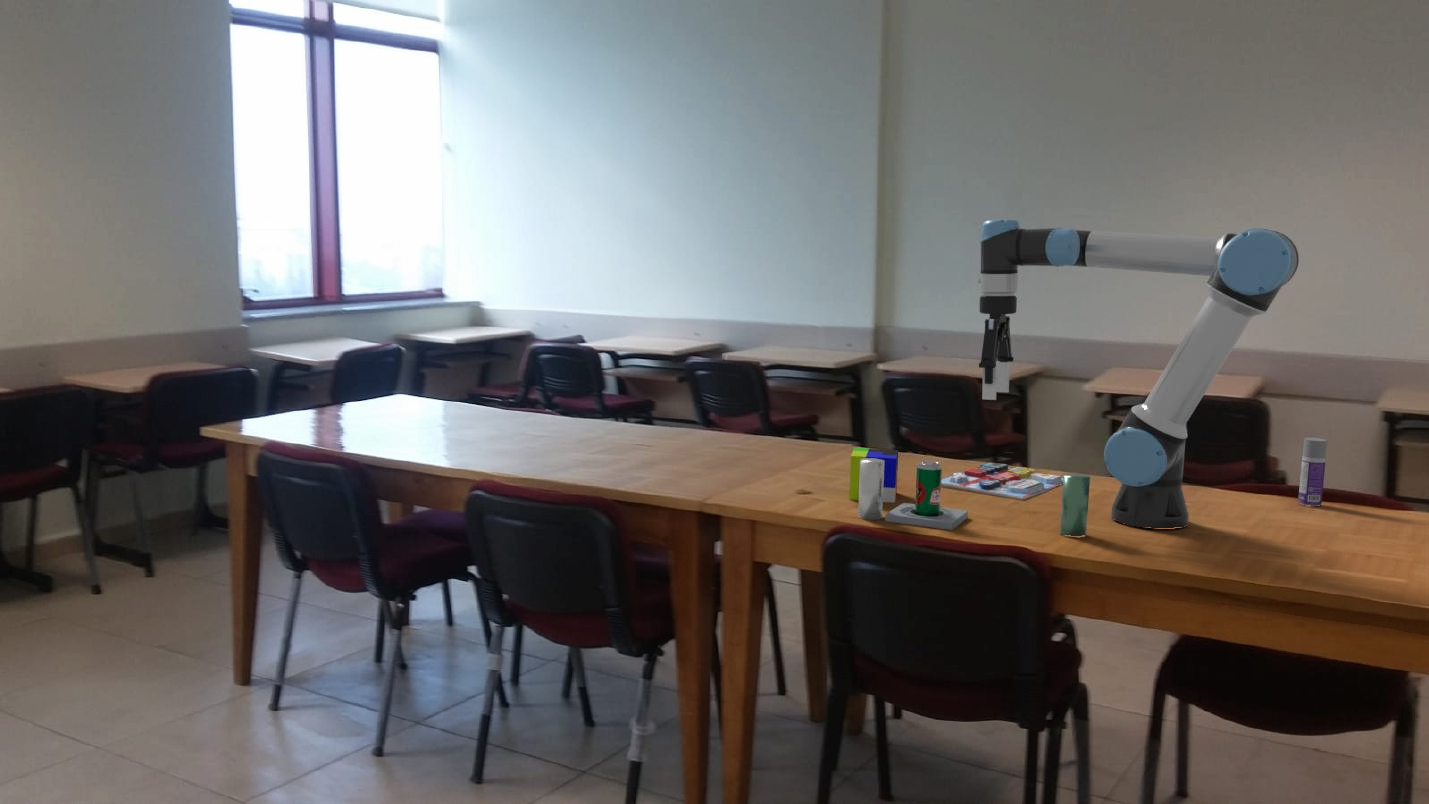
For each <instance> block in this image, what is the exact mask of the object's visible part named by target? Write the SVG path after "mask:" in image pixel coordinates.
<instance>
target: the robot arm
mask: <svg viewBox="0 0 1429 804" xmlns="http://www.w3.org/2000/svg"><path fill="white" fill-rule="evenodd" d="M979 243H980V278H978V279H977V283H978V284H980V285H979V288H980V289H979V291H980V293H981V294H982V295H980V297H979V313H980V314H983V315H989V318H988V319H987V318H986V319H985V320H984V333H983V342H982V343H983V344H982V350H981V351H982V352H981V358H980V362H979V363H978V368H981V369H982V387H981V388H982V395H981V397H982V398H981V399H982V400H988V401H993V400H994V401H997V393H1010V362H1014V356H1013V353H1012V341H1011V330H1010V329H1011V327H1010V320H1011V318H1010V316H1009V315H1012V314H1016V313H1017V306H1018V304H1017V303H1018V302H1017V301H1018V300H1017V299H1018V298H1017V295H1015V294H1017V293H1018V281H1019V279H1018V278H1019V277H1018V274H1019V273H1018V267H1019V266H1020V267H1021V266H1024V267H1025V266H1026V267H1027V266H1029V267H1030V266H1031V267H1035V266H1036V267H1057V268H1059V267H1064V266H1065V267H1067V266H1070V267H1082V268H1084V267H1085V268H1086V267H1087V268H1097V269H1098V268H1099V269H1100V268H1101V269H1112V270H1125V271H1137V272H1139V271H1141V272H1149V273H1150V272H1151V273H1163V274H1175V275H1176V274H1177V275H1179V274H1180V275H1190V276H1201V277H1204V276H1205V277H1209V278H1208V280H1207V282H1206V284H1205V285H1206V289H1207V292H1208V297H1207V298H1206V300H1205V301H1204V303H1203V305H1202V306H1201V308H1200V310H1199V311H1198V313H1197V315H1196V317H1195V318H1194V320H1193V321H1192V323H1191V324H1190V326H1189V327H1188V330H1187V331H1186V333H1185V335H1184V336H1183V338H1182V339H1181V341H1180V343H1179V344H1178V346H1177V348H1176V350H1175V351H1174V353H1173V354H1172V356H1171V358H1170V359H1169V361H1168V363H1167V365H1166V366H1165V368H1164V369H1163V371H1162V373H1161V374H1160V376H1159V377H1158V380H1157V381H1156V383H1155V384H1154V386H1153V388H1152V389H1151V391H1150V392H1149V394H1148V396H1147V398H1146V399H1145V401H1144V403H1141V404H1137V405H1134V406H1132V407H1131V409H1130V410H1129V412H1128V413H1127V414H1126V416H1125V419H1124V420H1123V421H1122V424H1121V425H1120V427H1119V428H1118V430H1117V431H1116V432H1114V433H1113V434H1112V435H1111V436H1110V437H1109V438H1108V440H1107V442H1106V444H1105V447H1104V451H1103V461H1104V464H1105V467H1106V468H1107V470H1108V472H1109V473H1110V475H1111V476H1112V477H1113V478H1114V479H1115V480H1116V481H1118V482H1119V483H1121V484H1120V488H1119V490H1118V492H1117V494H1116V498H1115V499H1114V501H1113V504H1112V506H1111V513H1110V514H1111V515H1110V517H1111V519H1112V520H1113V519H1115V520H1116V521H1119V522H1121V523H1120V524H1122V523H1125V524H1128V525H1127V526H1129V525H1132V526H1131V527H1134V526H1137V527H1136V528H1139V527H1151V528H1174V527H1184V526H1186V525H1187V524H1188V525H1189V520H1190V519H1189V517H1190V516H1189V511H1188V507H1187V503H1186V500H1185V495H1184V491H1183V475H1184V463H1185V449H1186V440H1187V439H1188V436H1189V435H1188V427H1187V422H1188V421H1189V419H1190V418H1191V416H1192V415H1193V413H1194V412H1195V410H1196V408H1197V406H1198V405H1199V403H1200V402H1201V401H1202V398H1203V397H1204V396H1205V393H1206V392H1207V390H1208V389H1209V388H1210V385H1211V384H1212V382H1213V381H1214V380H1215V378H1216V376H1217V375H1218V373H1219V372H1220V370H1221V368H1222V366H1223V365H1224V363H1225V362H1226V361H1227V358H1228V357H1229V356H1230V353H1232V350H1233V349H1234V347H1235V346H1236V344H1237V343H1238V341H1239V339H1240V337H1242V334H1243V333H1244V331H1245V330H1246V328H1247V327H1248V324H1249V323H1250V322H1251V320H1252V318H1254V317H1256V316H1259V315H1263V314H1266V312H1268V311H1267V310H1268V309H1269V308H1270V306H1271V304H1272V303H1273V301H1274V300H1275V298H1276V297H1277V295H1278V293H1279V291H1280V290H1281V289H1282V288H1283V286H1284V285H1286V284H1287V283H1289V282H1290V281H1291V280H1292V278H1293V277H1294V276H1295V274H1296V273H1297V270H1298V267H1299V262H1300V256H1299V252H1298V249H1297V246H1296V245H1295V243H1294V242H1293V241H1292V239H1290V237H1288V236H1287V235H1286V234H1284V233H1281V232H1279V231H1277V230H1276V231H1275V230H1271V229H1268V228H1250V229H1247V230H1244V231H1242V232H1239V233H1229V232H1227V233H1225V234H1224V235H1222V236H1221V237H1208V236H1207V237H1204V236H1191V235H1190V236H1187V235H1173V234H1171V235H1170V234H1154V233H1153V234H1152V233H1149V234H1148V233H1136V232H1135V233H1134V232H1132V233H1131V232H1120V231H1119V232H1113V231H1097V230H1081V229H1080V230H1079V229H1074V228H1066V227H1055V228H1050V227H1049V228H1033V229H1032V228H1028V229H1026V228H1021V227H1020V223H1019V221H1018V219H989V220H985V221H983V223H982V225H981V238H980V242H979ZM1007 315H1008V316H1007ZM1116 521H1115V522H1116ZM1119 522H1118V523H1119ZM1125 524H1124V525H1125ZM1184 528H1185V527H1184Z"/></svg>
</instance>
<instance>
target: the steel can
mask: <svg viewBox="0 0 1429 804" xmlns="http://www.w3.org/2000/svg"><path fill="white" fill-rule="evenodd" d="M883 485H884V460H881V459H874V458H865V459H861V460H860V480H859V500H858V507H857V508H858V510H857V512H858V513H857V516H858V517H857V518H859V519H863V520H868V521H876V520H880V519H881V520H882V518H883V508H884V507H883V506H884V502H883Z"/></svg>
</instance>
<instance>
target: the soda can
mask: <svg viewBox="0 0 1429 804" xmlns="http://www.w3.org/2000/svg"><path fill="white" fill-rule="evenodd" d="M942 471H943V469H942V467H941V462H937V461H932V460H923V461H919V462H918V466H916V483H915V503H914V504H915V515H919V516H927V517H936V516H940V507H941V493H942V492H941V490H942V487H941V479H942Z"/></svg>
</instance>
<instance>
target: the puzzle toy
mask: <svg viewBox="0 0 1429 804" xmlns="http://www.w3.org/2000/svg"><path fill="white" fill-rule="evenodd" d="M865 458H874V459H881V460H884V485H883V503H894V504H895V503H896V497H897V491H898V490H897V489H898V466H899V450H895V449H881V448H880V449H878V448H860V447H854V448H853V450H852V453H851V455H850V465H849V468H850V469H849V471H850V473H849V477H850V478H849V496H848V498H849V501H859V480H860V460H861V459H865Z"/></svg>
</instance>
